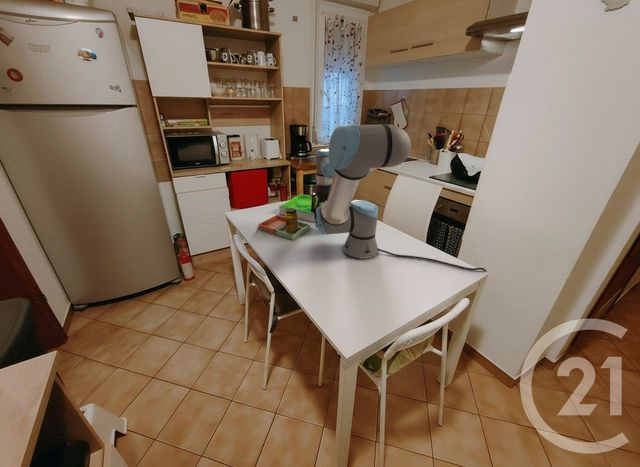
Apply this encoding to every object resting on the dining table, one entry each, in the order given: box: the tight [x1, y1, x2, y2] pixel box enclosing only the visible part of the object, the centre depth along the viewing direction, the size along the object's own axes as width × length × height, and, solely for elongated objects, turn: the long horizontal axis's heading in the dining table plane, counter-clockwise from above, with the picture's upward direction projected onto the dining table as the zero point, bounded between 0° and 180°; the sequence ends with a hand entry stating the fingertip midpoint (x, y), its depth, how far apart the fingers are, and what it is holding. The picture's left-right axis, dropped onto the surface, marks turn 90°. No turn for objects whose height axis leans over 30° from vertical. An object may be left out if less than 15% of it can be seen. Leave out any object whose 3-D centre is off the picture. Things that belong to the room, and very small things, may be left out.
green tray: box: [275, 220, 311, 241], centre depth 137 cm, size 11×15×2 cm
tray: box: [278, 193, 324, 223], centre depth 161 cm, size 25×25×5 cm
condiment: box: [284, 208, 303, 234], centre depth 134 cm, size 7×8×12 cm
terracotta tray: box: [257, 214, 286, 235], centre depth 142 cm, size 11×15×2 cm
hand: (323, 227), depth 135 cm, fingers closed on grapes, 7 cm apart
